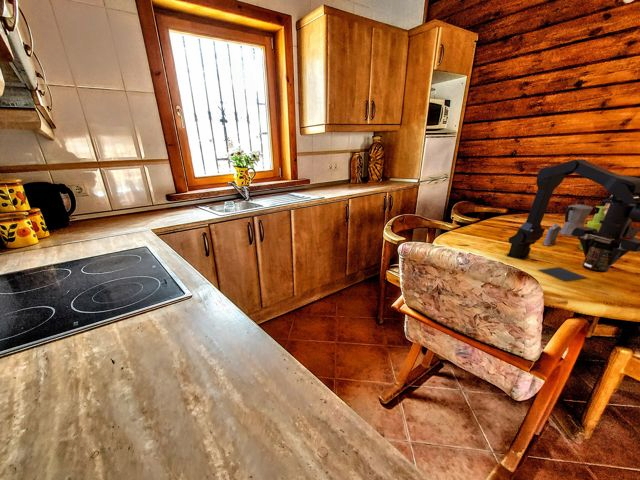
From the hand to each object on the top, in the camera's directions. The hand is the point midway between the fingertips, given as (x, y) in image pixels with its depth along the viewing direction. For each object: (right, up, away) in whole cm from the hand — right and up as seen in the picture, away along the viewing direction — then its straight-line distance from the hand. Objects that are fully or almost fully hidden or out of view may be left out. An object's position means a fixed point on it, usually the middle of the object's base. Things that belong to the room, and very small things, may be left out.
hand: (598, 261), depth 98 cm
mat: (-1, -5, +12) cm, 13 cm away
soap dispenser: (+32, +6, +34) cm, 47 cm away
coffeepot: (+42, +15, +52) cm, 69 cm away
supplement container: (0, -3, +1) cm, 3 cm away
